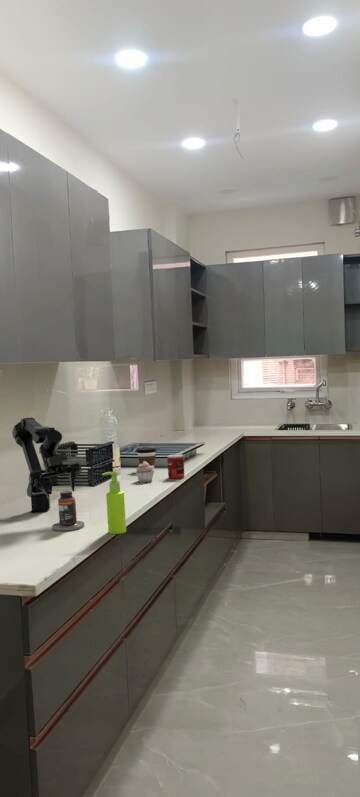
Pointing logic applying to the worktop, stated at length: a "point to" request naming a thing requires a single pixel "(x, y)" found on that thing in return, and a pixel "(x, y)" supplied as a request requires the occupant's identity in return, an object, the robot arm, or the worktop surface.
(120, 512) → the soap dispenser
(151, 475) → the cupcake
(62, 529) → the dark gray plate
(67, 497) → the supplement bottle
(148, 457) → the coffee cup
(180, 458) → the canned food
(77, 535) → the worktop surface
